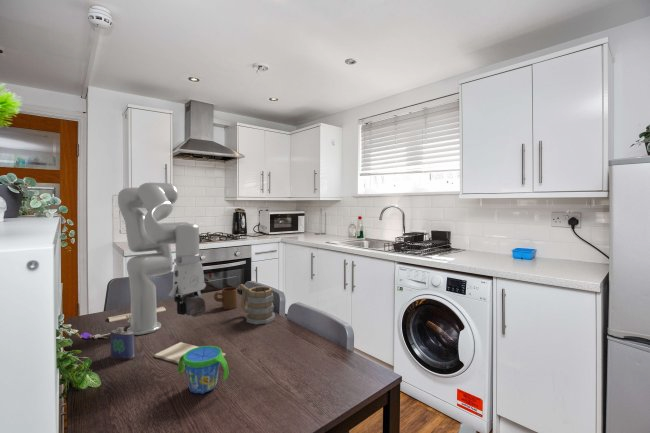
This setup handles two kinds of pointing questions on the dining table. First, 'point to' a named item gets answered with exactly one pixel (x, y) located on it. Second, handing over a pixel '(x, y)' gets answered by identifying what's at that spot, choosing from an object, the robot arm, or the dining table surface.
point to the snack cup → (203, 368)
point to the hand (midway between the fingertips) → (188, 310)
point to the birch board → (176, 352)
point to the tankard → (258, 304)
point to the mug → (227, 297)
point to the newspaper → (126, 316)
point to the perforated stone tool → (194, 305)
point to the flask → (122, 344)
